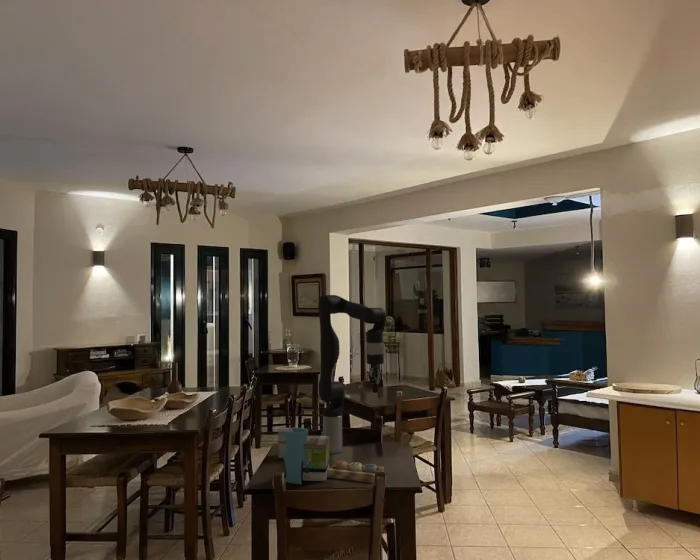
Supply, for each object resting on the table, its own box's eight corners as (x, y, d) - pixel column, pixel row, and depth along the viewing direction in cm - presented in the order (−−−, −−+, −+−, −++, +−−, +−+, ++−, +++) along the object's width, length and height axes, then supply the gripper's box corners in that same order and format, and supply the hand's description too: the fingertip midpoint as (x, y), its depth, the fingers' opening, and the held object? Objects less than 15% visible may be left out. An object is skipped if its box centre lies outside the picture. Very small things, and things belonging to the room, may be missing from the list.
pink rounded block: (333, 473, 222) (333, 463, 222) (338, 469, 226) (338, 459, 226) (344, 474, 220) (344, 464, 220) (348, 471, 224) (348, 461, 224)
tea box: (326, 481, 214) (326, 444, 214) (301, 481, 214) (301, 444, 215) (329, 469, 229) (329, 434, 229) (306, 469, 229) (306, 434, 230)
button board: (327, 477, 219) (327, 469, 219) (337, 469, 229) (337, 462, 230) (375, 482, 212) (375, 475, 212) (384, 474, 222) (384, 467, 222)
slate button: (363, 476, 217) (363, 466, 217) (367, 473, 221) (367, 462, 222) (374, 478, 215) (374, 467, 215) (378, 474, 220) (378, 464, 220)
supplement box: (277, 458, 246) (277, 430, 247) (285, 453, 253) (285, 427, 254) (291, 459, 244) (291, 432, 244) (299, 455, 251) (299, 428, 251)
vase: (293, 475, 221) (293, 427, 222) (310, 478, 218) (310, 428, 219) (283, 481, 214) (283, 431, 215) (300, 484, 211) (300, 433, 212)
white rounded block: (348, 475, 219) (348, 464, 219) (352, 471, 224) (352, 461, 224) (359, 476, 218) (359, 465, 218) (363, 472, 222) (363, 462, 222)
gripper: (371, 351, 243) (372, 389, 242) (362, 354, 230) (362, 394, 230) (387, 351, 240) (388, 390, 239) (378, 354, 228) (379, 395, 227)
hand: (375, 392), depth 234 cm, fingers closed
